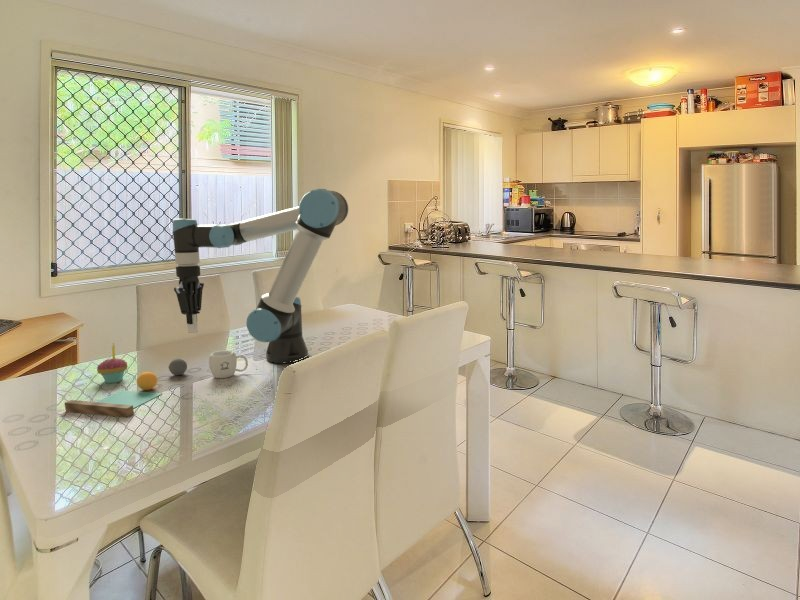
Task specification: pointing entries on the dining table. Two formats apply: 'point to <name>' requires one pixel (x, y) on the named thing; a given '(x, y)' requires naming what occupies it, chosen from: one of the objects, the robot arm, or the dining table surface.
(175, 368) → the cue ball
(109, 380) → the cupcake
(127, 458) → the dining table surface
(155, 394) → the teal mark
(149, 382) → the orange ball
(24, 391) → the dining table surface
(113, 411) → the wall
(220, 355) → the mug
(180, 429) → the dining table surface
